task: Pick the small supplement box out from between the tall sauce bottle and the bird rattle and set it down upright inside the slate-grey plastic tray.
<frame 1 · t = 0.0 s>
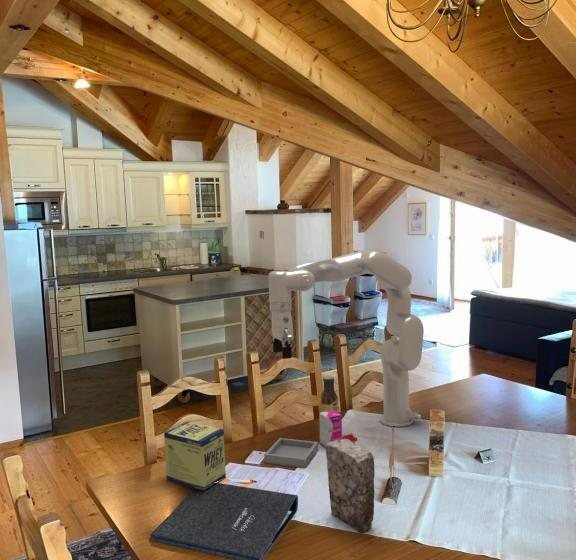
hand: (282, 355, 192), 31 cm above the table, tool pointing down, fingers open, 9 cm apart
bird rattle: (349, 467, 174), on the table
sauce bottle: (330, 430, 204), on the table
slate tray: (292, 456, 183), on the table
supplement box: (331, 445, 191), on the table
protein box: (196, 479, 170), on the table
stone block: (352, 520, 144), on the table
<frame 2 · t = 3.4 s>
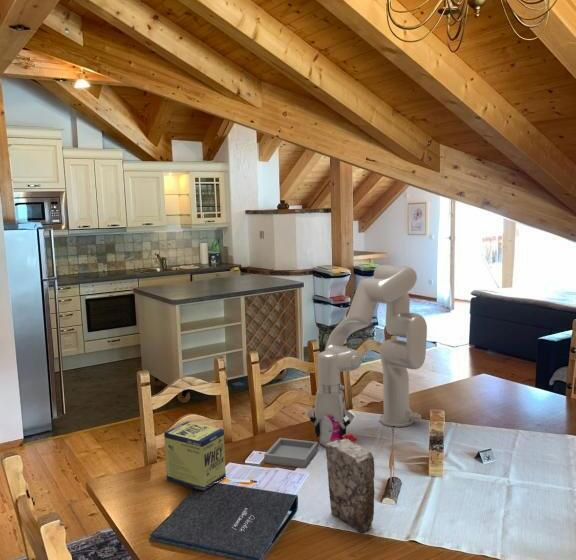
hand: (330, 436, 190), 3 cm above the table, tool pointing down, fingers closed on supplement box, 8 cm apart
supplement box: (330, 445, 191), on the table, touching gripper
everything else where it was.
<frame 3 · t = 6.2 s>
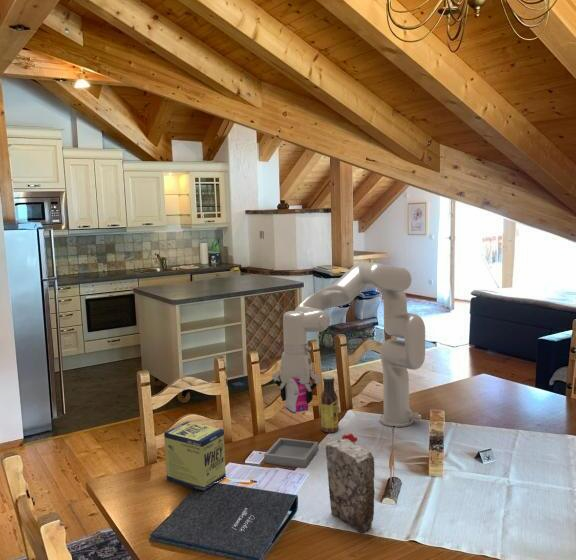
hand: (296, 400, 182), 19 cm above the table, tool pointing down, fingers closed on supplement box, 8 cm apart
supplement box: (297, 410, 183), point 15 cm above the table, touching gripper
everything else where it was.
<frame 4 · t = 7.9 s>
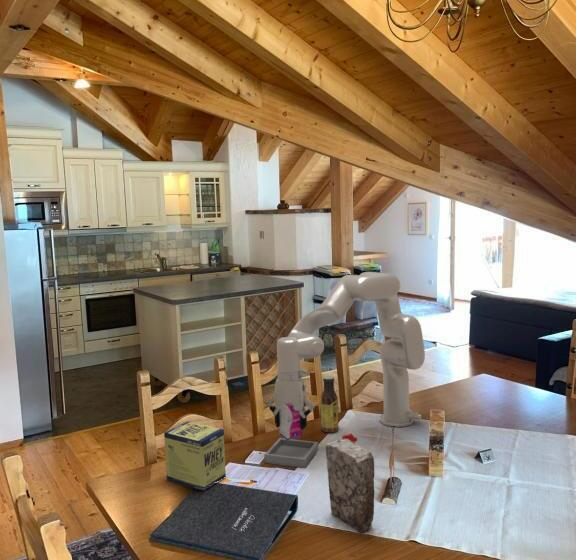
hand: (290, 426, 182), 10 cm above the table, tool pointing down, fingers closed on supplement box, 8 cm apart
supplement box: (291, 436, 182), point 7 cm above the table, touching gripper
everything else where it was.
when the fingers open (6 cm above the table, at t = 9.4 s): supplement box drops 2 cm, resting on slate tray.
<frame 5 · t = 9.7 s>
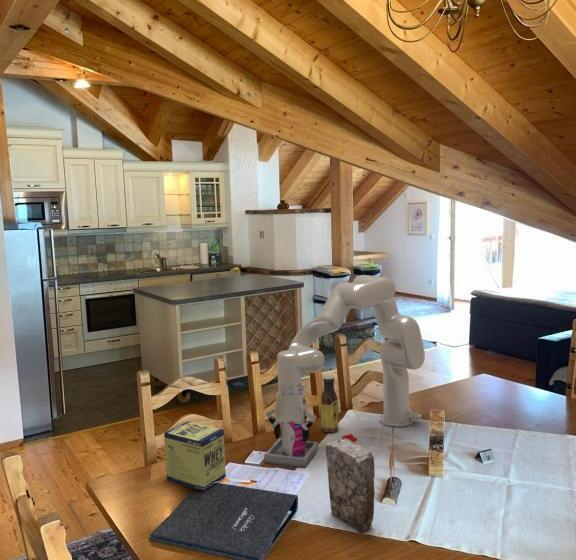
hand: (291, 438, 182), 6 cm above the table, tool pointing down, fingers open, 9 cm apart
supplement box: (293, 454, 183), point 1 cm above the table, touching gripper, slate tray
everything else where it was.
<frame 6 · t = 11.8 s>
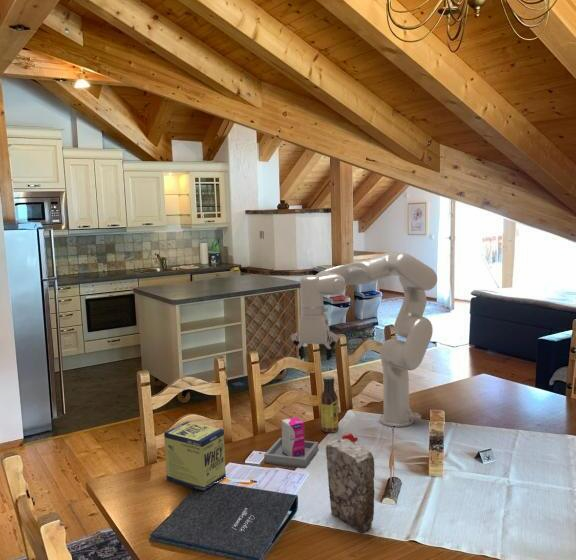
hand: (315, 359, 194), 29 cm above the table, tool pointing down, fingers open, 9 cm apart
supplement box: (293, 454, 183), point 1 cm above the table, touching slate tray
everything else where it was.
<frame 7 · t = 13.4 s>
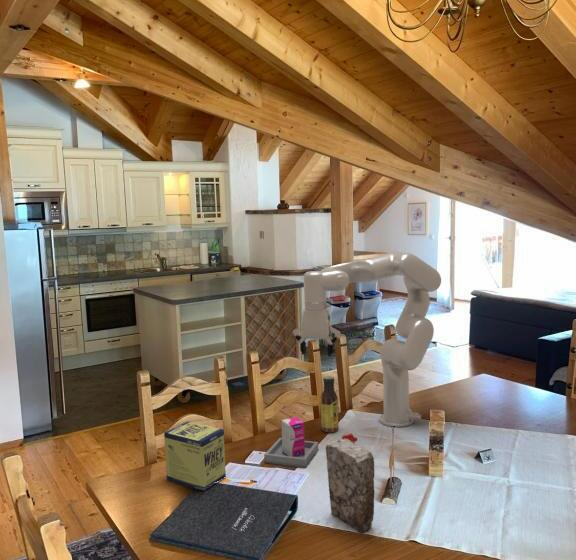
hand: (316, 354, 195), 30 cm above the table, tool pointing down, fingers open, 9 cm apart
nothing on the table moved.
at the end: supplement box inside the target area on the slate tray (0.5 cm from its centre), point 0.6 cm above the slate tray's base; supplement box tilted 0°; the gripper is holding nothing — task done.
